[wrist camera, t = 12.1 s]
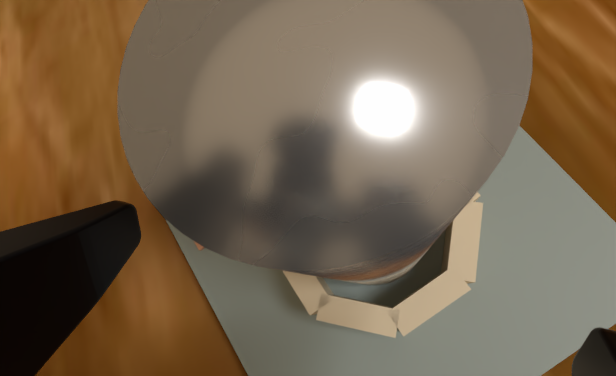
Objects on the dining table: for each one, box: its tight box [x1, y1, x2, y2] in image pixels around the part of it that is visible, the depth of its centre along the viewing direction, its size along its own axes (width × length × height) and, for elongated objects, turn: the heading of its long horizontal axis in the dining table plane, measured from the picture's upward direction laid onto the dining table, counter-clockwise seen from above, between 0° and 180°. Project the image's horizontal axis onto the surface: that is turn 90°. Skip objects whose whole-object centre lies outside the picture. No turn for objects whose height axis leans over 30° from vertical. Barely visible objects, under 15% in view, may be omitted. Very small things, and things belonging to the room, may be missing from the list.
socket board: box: [166, 126, 616, 376], centre depth 17 cm, size 16×16×3 cm
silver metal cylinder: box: [118, 0, 532, 285], centre depth 11 cm, size 4×4×14 cm
